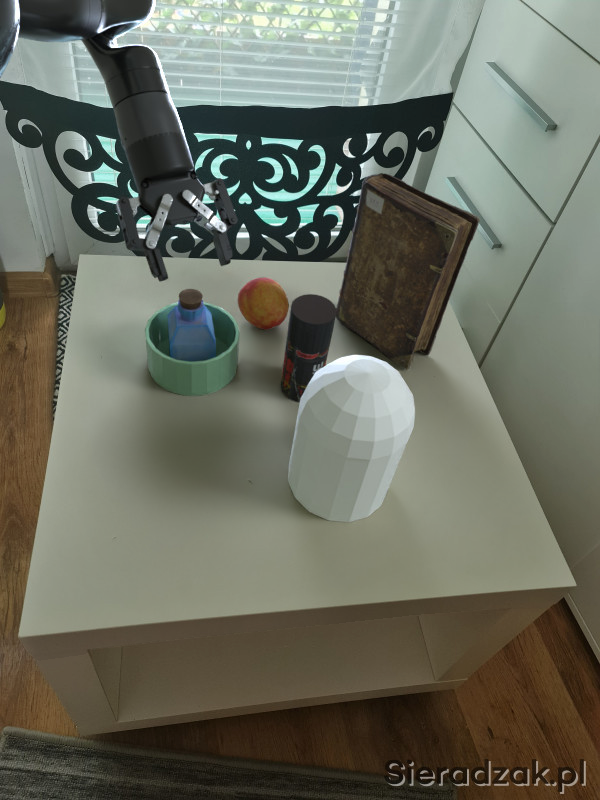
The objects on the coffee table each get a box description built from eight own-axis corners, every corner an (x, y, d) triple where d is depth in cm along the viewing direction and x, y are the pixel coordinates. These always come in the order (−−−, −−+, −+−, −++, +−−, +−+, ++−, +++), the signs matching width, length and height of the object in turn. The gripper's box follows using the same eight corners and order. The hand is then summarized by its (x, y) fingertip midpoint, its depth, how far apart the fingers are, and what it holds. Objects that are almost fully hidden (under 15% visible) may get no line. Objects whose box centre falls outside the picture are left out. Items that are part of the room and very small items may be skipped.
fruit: (278, 302, 103) (283, 263, 97) (292, 335, 98) (298, 295, 92) (232, 308, 100) (234, 268, 95) (245, 341, 96) (247, 301, 90)
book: (329, 315, 102) (357, 175, 84) (358, 299, 106) (391, 162, 87) (403, 374, 95) (452, 235, 76) (432, 355, 99) (485, 218, 80)
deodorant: (295, 366, 93) (308, 288, 82) (327, 386, 91) (345, 308, 80) (272, 388, 90) (281, 309, 79) (304, 408, 88) (319, 330, 77)
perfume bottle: (210, 344, 93) (211, 280, 85) (215, 373, 89) (216, 310, 81) (169, 346, 92) (165, 282, 83) (171, 376, 88) (168, 312, 79)
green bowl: (170, 407, 85) (168, 375, 80) (134, 348, 92) (130, 315, 87) (252, 378, 91) (255, 346, 86) (213, 324, 97) (213, 292, 93)
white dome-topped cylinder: (409, 496, 80) (455, 393, 65) (324, 540, 74) (354, 438, 59) (349, 424, 87) (379, 317, 72) (268, 460, 81) (282, 350, 66)
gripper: (102, 139, 69) (149, 281, 71) (217, 122, 75) (256, 253, 77) (92, 161, 75) (135, 290, 78) (198, 144, 81) (235, 264, 84)
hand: (195, 272), depth 77 cm, fingers open, 8 cm apart
